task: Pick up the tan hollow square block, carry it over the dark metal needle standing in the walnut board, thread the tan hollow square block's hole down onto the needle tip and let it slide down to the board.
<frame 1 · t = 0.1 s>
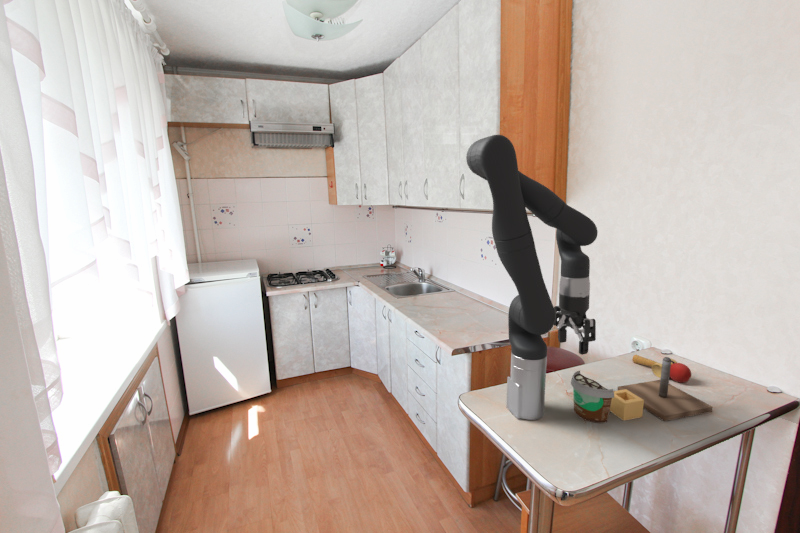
hand: (572, 347, 107), 17 cm above the table, tool pointing down, fingers open, 8 cm apart
kendama: (659, 373, 127), on the table
food container: (584, 415, 105), on the table
needle stand: (662, 400, 110), on the table
tan hollow square block: (624, 412, 105), on the table
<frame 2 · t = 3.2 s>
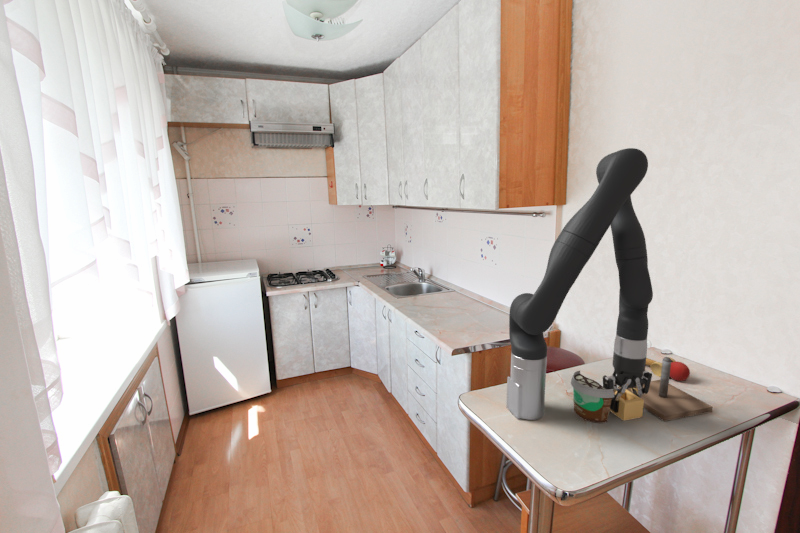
hand: (624, 409, 105), 1 cm above the table, tool pointing down, fingers closed on tan hollow square block, 6 cm apart
tan hollow square block: (623, 412, 105), on the table, touching gripper
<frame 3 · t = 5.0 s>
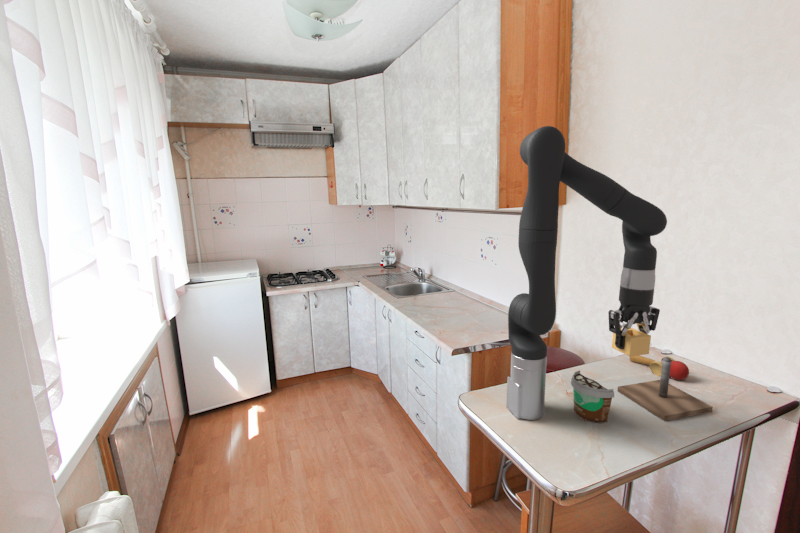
hand: (630, 346, 101), 19 cm above the table, tool pointing down, fingers closed on tan hollow square block, 6 cm apart
tan hollow square block: (629, 350, 101), point 18 cm above the table, touching gripper
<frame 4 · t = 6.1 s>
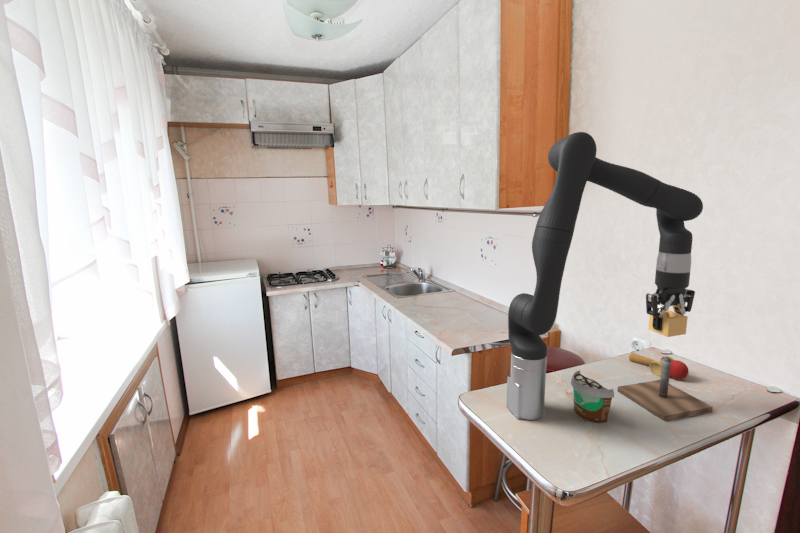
hand: (667, 327, 105), 22 cm above the table, tool pointing down, fingers closed on tan hollow square block, 6 cm apart
tan hollow square block: (666, 331, 106), point 21 cm above the table, touching gripper
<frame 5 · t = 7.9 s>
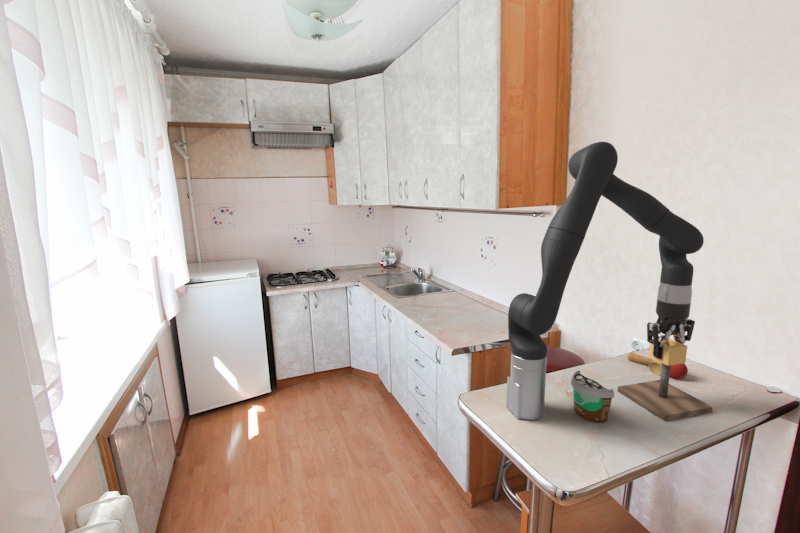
hand: (667, 356, 108), 14 cm above the table, tool pointing down, fingers closed on tan hollow square block, 6 cm apart
tan hollow square block: (666, 359, 108), point 13 cm above the table, touching gripper
when the fingers open (13 cm above the table, at t = 9.1 s): tan hollow square block drops 10 cm, resting on needle stand.
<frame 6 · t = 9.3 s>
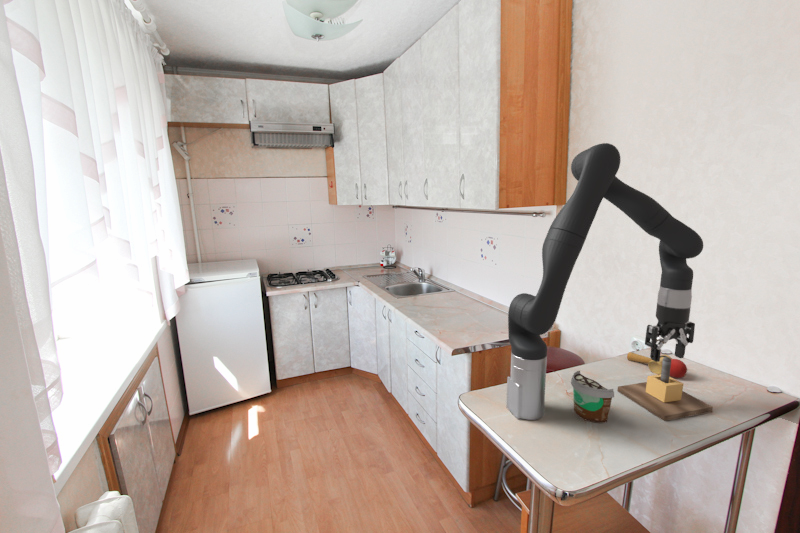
hand: (667, 358, 108), 13 cm above the table, tool pointing down, fingers open, 8 cm apart
tan hollow square block: (662, 395, 110), point 2 cm above the table, touching needle stand
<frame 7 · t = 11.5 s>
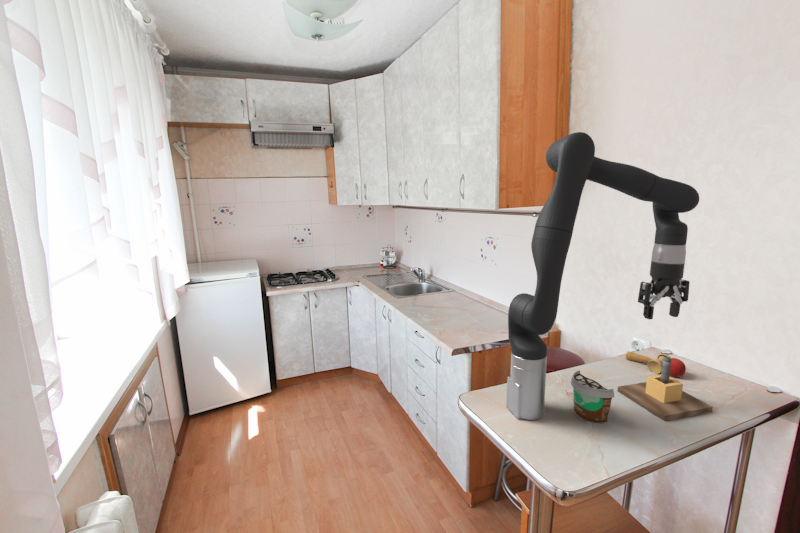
hand: (660, 317, 107), 25 cm above the table, tool pointing down, fingers open, 8 cm apart
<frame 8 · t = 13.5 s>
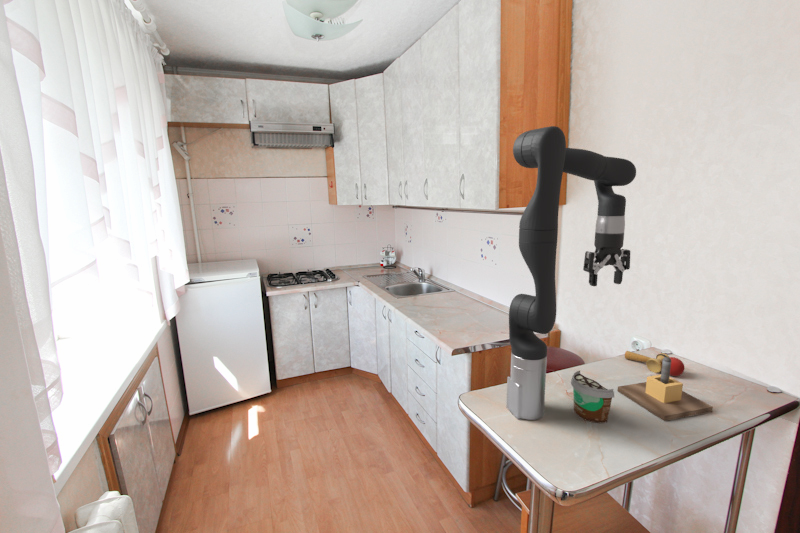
hand: (605, 284, 115), 32 cm above the table, tool pointing down, fingers open, 8 cm apart
at the end: tan hollow square block 0.0 cm from the needle stand (horizontally); tan hollow square block point 1.5 cm above the table; the gripper is holding nothing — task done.
